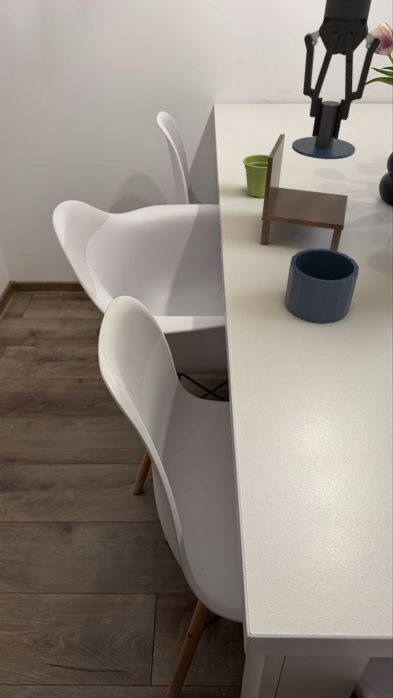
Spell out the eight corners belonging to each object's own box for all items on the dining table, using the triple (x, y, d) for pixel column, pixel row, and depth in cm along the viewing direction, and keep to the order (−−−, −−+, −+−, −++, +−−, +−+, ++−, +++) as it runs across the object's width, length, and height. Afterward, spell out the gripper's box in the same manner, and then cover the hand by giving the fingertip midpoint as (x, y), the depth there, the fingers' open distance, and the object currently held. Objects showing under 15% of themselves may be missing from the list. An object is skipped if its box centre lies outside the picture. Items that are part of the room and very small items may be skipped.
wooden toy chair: (341, 223, 115) (359, 141, 103) (337, 255, 104) (356, 166, 91) (271, 214, 119) (280, 133, 107) (259, 244, 107) (268, 157, 95)
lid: (355, 145, 102) (365, 98, 96) (352, 165, 93) (363, 114, 87) (295, 139, 105) (301, 93, 99) (287, 158, 96) (293, 108, 90)
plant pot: (251, 203, 124) (254, 169, 119) (234, 189, 131) (236, 157, 125) (282, 197, 127) (287, 164, 122) (264, 184, 134) (267, 152, 128)
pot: (349, 293, 93) (359, 253, 87) (346, 328, 84) (357, 287, 79) (289, 283, 95) (295, 244, 90) (280, 317, 87) (286, 276, 81)
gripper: (298, -10, 81) (281, 137, 96) (402, -6, 77) (367, 145, 92) (303, -13, 86) (286, 126, 101) (401, -10, 83) (368, 134, 98)
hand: (325, 135), depth 97 cm, fingers closed on lid, 4 cm apart
